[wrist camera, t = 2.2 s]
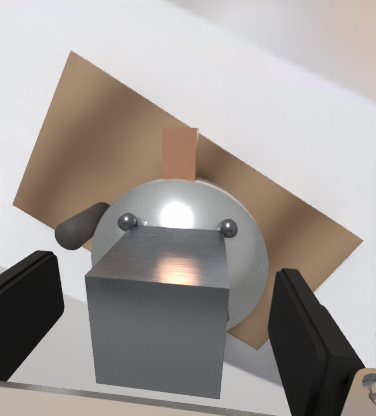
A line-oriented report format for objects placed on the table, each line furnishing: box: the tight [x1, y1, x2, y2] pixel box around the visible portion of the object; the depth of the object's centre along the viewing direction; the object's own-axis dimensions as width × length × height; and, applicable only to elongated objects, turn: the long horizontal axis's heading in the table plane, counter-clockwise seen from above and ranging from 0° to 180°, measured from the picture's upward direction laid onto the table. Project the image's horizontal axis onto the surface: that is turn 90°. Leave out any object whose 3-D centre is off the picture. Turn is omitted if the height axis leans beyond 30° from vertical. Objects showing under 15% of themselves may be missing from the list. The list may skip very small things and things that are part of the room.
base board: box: [13, 51, 363, 350], centre depth 15 cm, size 21×11×6 cm, turn 58°
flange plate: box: [85, 127, 269, 399], centre depth 10 cm, size 11×9×6 cm
